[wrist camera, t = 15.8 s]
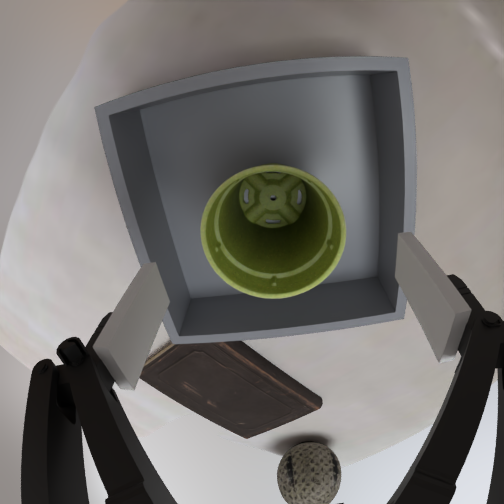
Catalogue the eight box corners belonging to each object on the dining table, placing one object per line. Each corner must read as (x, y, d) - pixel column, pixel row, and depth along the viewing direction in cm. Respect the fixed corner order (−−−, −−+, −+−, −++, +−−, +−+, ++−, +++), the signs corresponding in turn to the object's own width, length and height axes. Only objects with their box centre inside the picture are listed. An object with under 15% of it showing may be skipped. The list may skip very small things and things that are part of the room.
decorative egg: (264, 444, 51) (262, 513, 38) (314, 425, 47) (320, 501, 34) (301, 459, 55) (303, 520, 41) (348, 441, 50) (356, 507, 37)
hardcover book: (247, 428, 49) (246, 439, 47) (138, 363, 41) (134, 374, 39) (321, 395, 43) (323, 407, 41) (208, 311, 36) (205, 324, 34)
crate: (132, 102, 24) (94, 107, 18) (375, 64, 22) (408, 57, 16) (187, 300, 34) (172, 344, 28) (382, 277, 32) (403, 318, 26)
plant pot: (223, 244, 30) (208, 299, 22) (215, 146, 25) (192, 169, 18) (321, 242, 29) (339, 297, 22) (325, 143, 25) (351, 166, 17)
